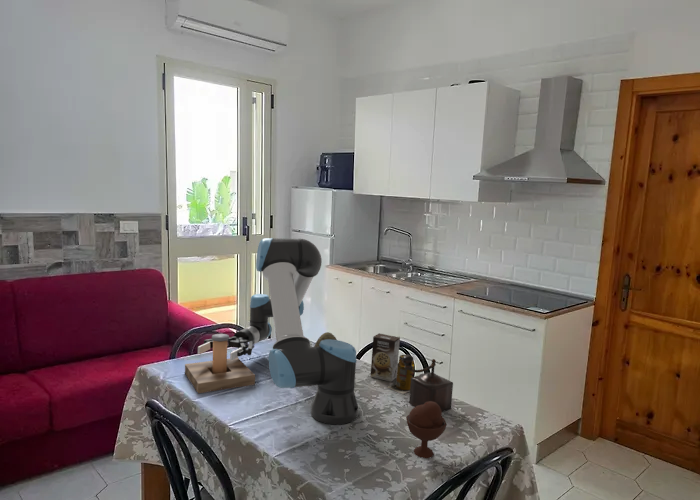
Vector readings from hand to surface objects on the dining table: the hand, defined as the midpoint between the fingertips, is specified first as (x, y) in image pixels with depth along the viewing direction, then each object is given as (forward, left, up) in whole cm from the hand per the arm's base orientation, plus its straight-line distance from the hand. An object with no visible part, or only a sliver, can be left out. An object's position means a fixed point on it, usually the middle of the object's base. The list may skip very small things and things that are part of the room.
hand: (214, 353), depth 173 cm
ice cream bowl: (-71, -39, -11) cm, 81 cm away
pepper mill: (-48, -58, -11) cm, 76 cm away
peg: (+2, -3, -10) cm, 11 cm away
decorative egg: (-4, -44, -11) cm, 45 cm away
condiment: (-32, -61, -11) cm, 69 cm away
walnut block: (+2, -3, -10) cm, 11 cm away
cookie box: (-20, -61, -11) cm, 65 cm away
